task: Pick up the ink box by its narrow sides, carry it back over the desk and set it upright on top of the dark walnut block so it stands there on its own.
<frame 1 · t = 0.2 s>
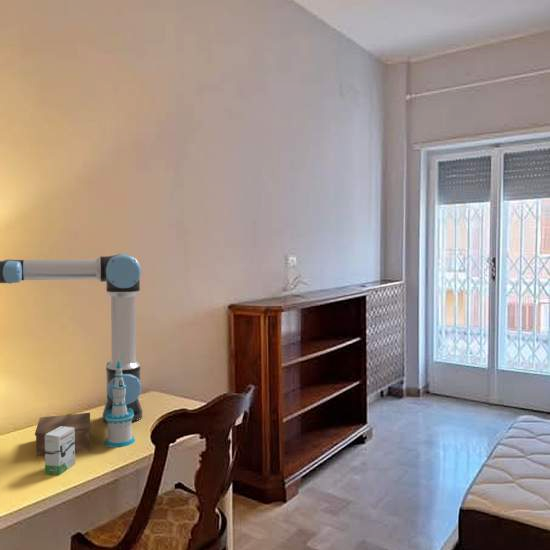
model tower: (119, 442, 179), on the table
ink box: (60, 469, 157), on the table
walnut block: (64, 445, 176), on the table
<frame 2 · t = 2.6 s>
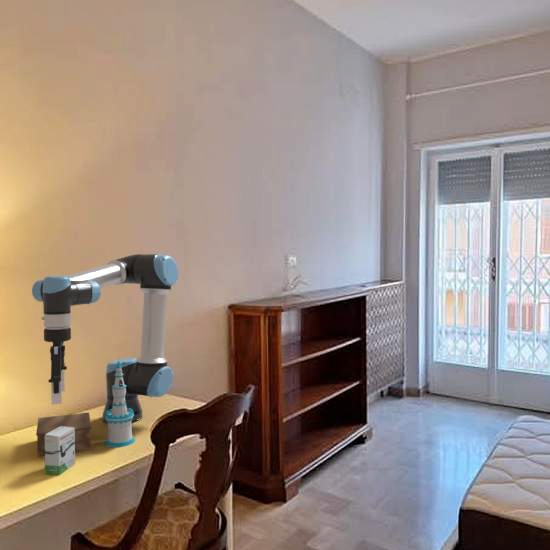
hand: (58, 397, 156), 22 cm above the table, tool pointing down, fingers open, 13 cm apart
nothing on the table moved.
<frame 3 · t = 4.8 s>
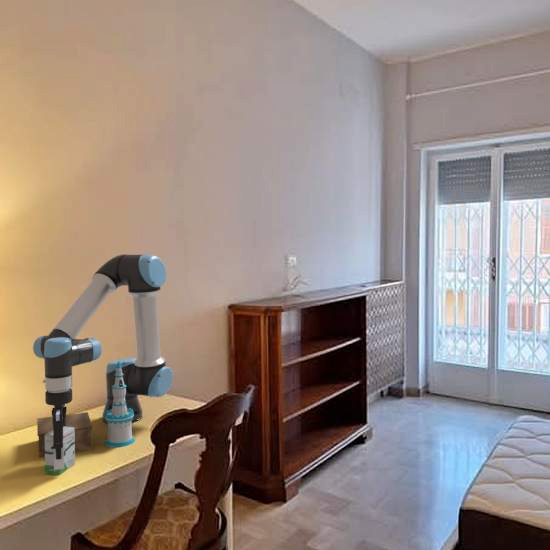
hand: (60, 461, 157), 2 cm above the table, tool pointing down, fingers closed on ink box, 9 cm apart
ink box: (60, 469, 157), on the table, touching gripper
everything else where it was.
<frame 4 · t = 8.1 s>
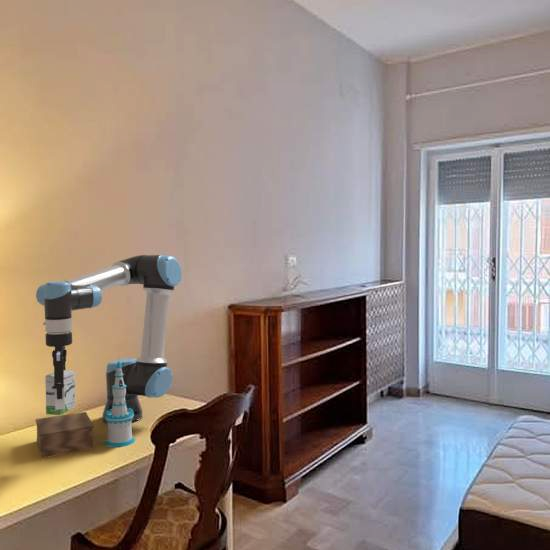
hand: (61, 403, 159), 19 cm above the table, tool pointing down, fingers closed on ink box, 9 cm apart
ink box: (61, 411, 159), point 17 cm above the table, touching gripper
everything else where it was.
when the fingers open (12 cm above the table, at t = 11.3 s): ink box drops 2 cm, point 7 cm above the table.
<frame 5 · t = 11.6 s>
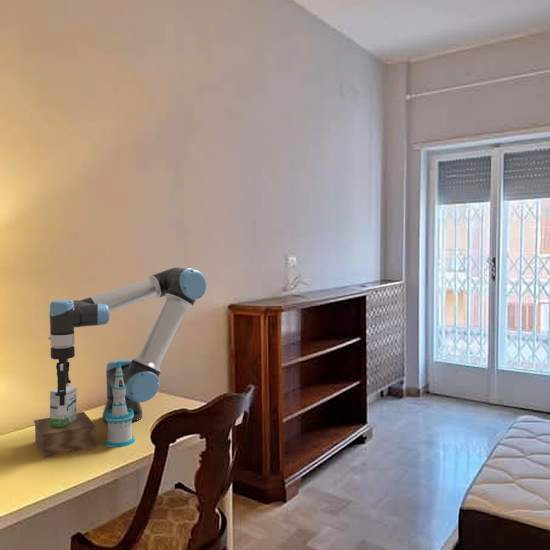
hand: (63, 408, 175), 13 cm above the table, tool pointing down, fingers open, 13 cm apart
ink box: (63, 423, 175), point 7 cm above the table
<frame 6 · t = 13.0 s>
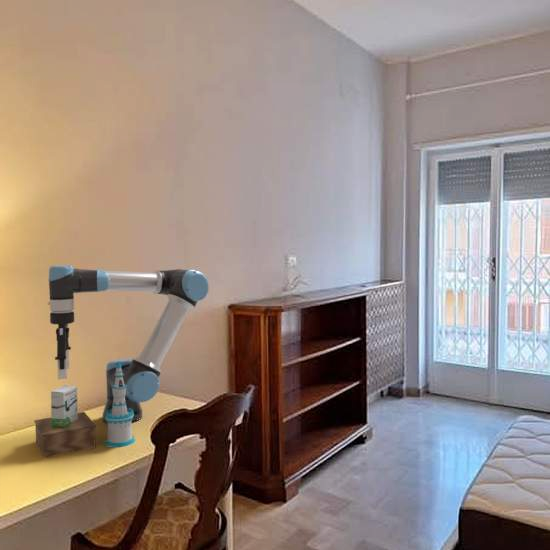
hand: (63, 373, 175), 24 cm above the table, tool pointing down, fingers open, 13 cm apart
ink box: (64, 423, 176), point 7 cm above the table, touching walnut block
walnut block: (65, 445, 176), on the table, touching ink box
everything else where it was.
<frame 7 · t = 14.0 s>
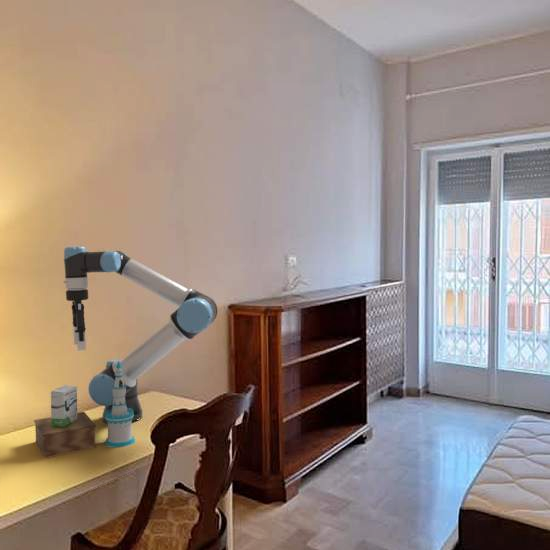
hand: (79, 347, 189), 31 cm above the table, tool pointing down, fingers open, 13 cm apart
nothing on the table moved.
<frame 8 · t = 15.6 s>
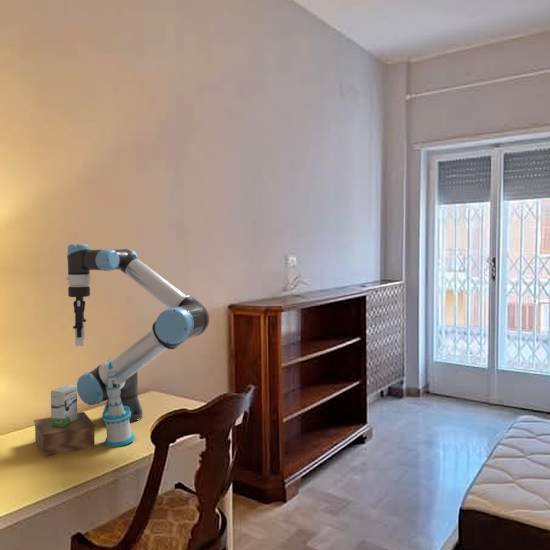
hand: (80, 342, 192), 32 cm above the table, tool pointing down, fingers open, 13 cm apart
model tower: (119, 440, 179), on the table, touching arm
everything else where it was.
at the end: ink box inside the target area on the walnut block (0.3 cm from its centre), point 7.8 cm above the walnut block's base; ink box tilted 0°; the gripper is holding nothing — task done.
